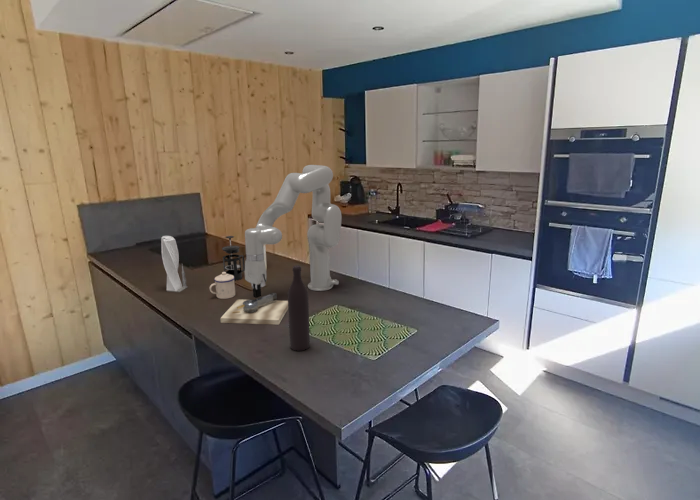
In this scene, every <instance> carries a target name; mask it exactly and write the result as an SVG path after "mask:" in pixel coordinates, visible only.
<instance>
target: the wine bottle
mask: <svg viewBox="0 0 700 500" xmlns="http://www.w3.org/2000/svg"><path fill="white" fill-rule="evenodd" d="M292 272H293V273H292V274H293V278H292V282H291V284H290V286H289V287H288V291H287V301H288V310H287V312H288V332H289V346H290V349H291V350H293V351H296V350H297V352H302V351H305V349H306V350H308V349H309V348H310V346H311V338H310V333H311V332H310V311H309V309H310V308H309V307H310V306H309V293H308V292H309V291H308V288H307V287H306V285H305V283H304V282H303V279H302V273H301V272H302V266H301V265H297V264H296V265H293V266H292Z"/></svg>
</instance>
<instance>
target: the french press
mask: <svg viewBox="0 0 700 500" xmlns="http://www.w3.org/2000/svg"><path fill="white" fill-rule="evenodd" d="M225 238H226V239H229V245H227V246H223V247H222V248H221V250H222V251H223V252H225V253H226V255H224V256H222V263H223V264H222V265H223V272H226V274H229V275H233V276H234V282H236V280H237V281H240V280H242V279H243V274H242V273H243V272H245V256H244V255H243V254H241V255H240V254H238V253H239V252H240V248H241V247H240V246H239V245H232V241H231V240H232V239H233V238H235V236H233V235H228V236H226V237H225ZM241 259H242V261H241ZM237 261H238V262H239V263H238V262H237ZM225 262H227V265H226V264H225ZM241 262H242V264H241ZM239 279H240V280H239Z"/></svg>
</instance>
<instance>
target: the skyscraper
mask: <svg viewBox="0 0 700 500" xmlns="http://www.w3.org/2000/svg"><path fill="white" fill-rule="evenodd" d="M160 238H161V239H160V241H161V247H160V248H161V258H162V263H163V268H164V269H165V272H166V292H170V293H181V292H183V291H184V290H185V289H188V285H187V278H186V272H185V270H184V266H183V263H181V277H182V281H181V279H180V276H179V273H178V271H179V261H180V260H179V259H180V258H179V257H180V256H179V249H178V245H177V241H176V239H175V238H174V237H173V236H171V235H162V237H160Z"/></svg>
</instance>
